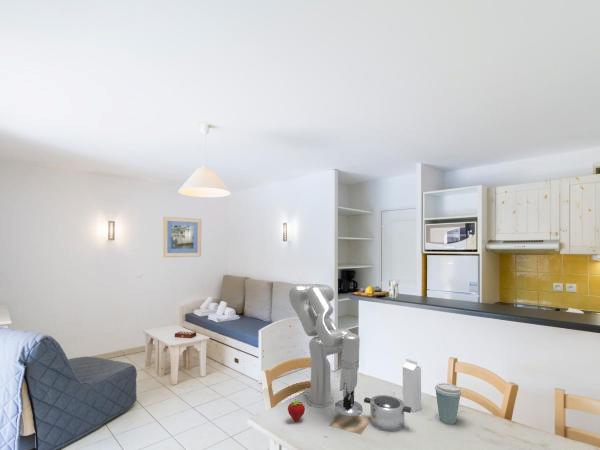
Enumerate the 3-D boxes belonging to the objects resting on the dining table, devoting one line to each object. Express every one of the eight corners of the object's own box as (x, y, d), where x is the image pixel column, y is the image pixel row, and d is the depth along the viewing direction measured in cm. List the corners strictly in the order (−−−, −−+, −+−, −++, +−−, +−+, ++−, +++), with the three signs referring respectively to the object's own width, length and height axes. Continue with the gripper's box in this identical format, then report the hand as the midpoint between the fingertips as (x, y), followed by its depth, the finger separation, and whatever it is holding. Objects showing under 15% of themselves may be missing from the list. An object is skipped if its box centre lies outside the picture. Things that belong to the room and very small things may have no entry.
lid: (330, 411, 143) (330, 397, 143) (340, 399, 154) (340, 386, 154) (357, 419, 138) (358, 404, 138) (365, 406, 149) (366, 392, 149)
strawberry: (305, 425, 143) (305, 401, 143) (287, 425, 142) (287, 401, 143) (304, 418, 148) (304, 394, 149) (287, 418, 148) (287, 394, 149)
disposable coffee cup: (434, 412, 154) (434, 379, 155) (460, 416, 151) (460, 382, 152) (435, 424, 144) (435, 388, 145) (463, 429, 141) (462, 392, 142)
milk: (413, 412, 154) (413, 363, 156) (402, 407, 159) (402, 359, 160) (421, 408, 158) (421, 360, 159) (410, 403, 163) (410, 357, 164)
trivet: (328, 426, 142) (328, 425, 142) (340, 412, 154) (340, 410, 154) (361, 435, 135) (361, 434, 135) (371, 419, 147) (370, 418, 147)
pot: (359, 425, 143) (359, 403, 143) (369, 411, 155) (369, 391, 155) (407, 438, 133) (407, 415, 134) (413, 422, 146) (413, 400, 146)
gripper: (348, 355, 155) (346, 395, 155) (334, 367, 141) (333, 412, 140) (364, 358, 152) (362, 399, 152) (352, 371, 137) (350, 417, 137)
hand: (348, 405), depth 146 cm, fingers closed on lid, 3 cm apart
